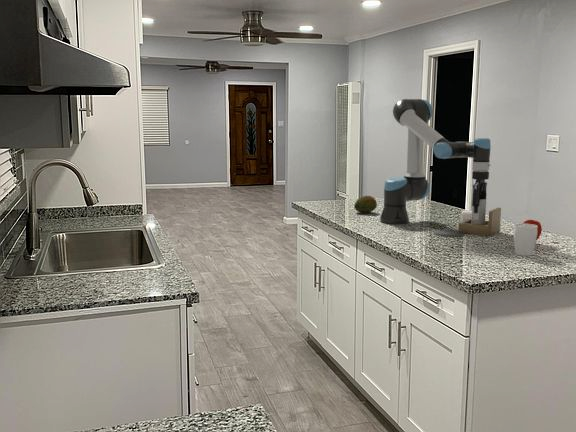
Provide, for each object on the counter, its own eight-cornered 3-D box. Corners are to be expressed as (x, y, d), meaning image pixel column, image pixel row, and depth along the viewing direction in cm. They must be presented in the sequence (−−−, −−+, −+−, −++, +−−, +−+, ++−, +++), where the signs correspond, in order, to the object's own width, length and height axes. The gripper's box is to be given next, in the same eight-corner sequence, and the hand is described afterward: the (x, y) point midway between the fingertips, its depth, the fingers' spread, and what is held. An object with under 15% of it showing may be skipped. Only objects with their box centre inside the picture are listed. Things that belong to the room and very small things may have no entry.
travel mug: (484, 231, 283) (486, 191, 279) (484, 234, 276) (486, 192, 273) (471, 230, 285) (473, 190, 281) (470, 233, 278) (472, 192, 275)
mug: (482, 228, 293) (483, 212, 291) (461, 227, 295) (462, 211, 293) (479, 223, 304) (480, 208, 303) (459, 223, 306) (460, 208, 305)
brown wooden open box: (458, 233, 279) (459, 208, 277) (468, 228, 290) (469, 205, 288) (490, 237, 270) (492, 211, 268) (499, 232, 281) (501, 207, 279)
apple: (517, 241, 260) (518, 217, 259) (536, 241, 260) (537, 217, 258) (524, 245, 252) (525, 221, 250) (544, 245, 252) (545, 221, 250)
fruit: (379, 213, 338) (380, 196, 337) (363, 215, 331) (364, 198, 330) (366, 210, 348) (366, 194, 346) (350, 212, 341) (350, 195, 339)
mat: (429, 234, 276) (429, 233, 276) (440, 230, 287) (440, 229, 287) (458, 238, 268) (458, 237, 268) (468, 233, 279) (468, 232, 279)
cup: (508, 252, 240) (509, 223, 238) (529, 251, 241) (530, 223, 239) (518, 257, 231) (520, 227, 229) (540, 256, 232) (542, 227, 230)
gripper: (482, 172, 266) (479, 222, 269) (494, 169, 281) (492, 216, 285) (466, 171, 270) (463, 220, 274) (479, 169, 285) (477, 215, 289)
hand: (478, 218), depth 279 cm, fingers closed on travel mug, 6 cm apart
